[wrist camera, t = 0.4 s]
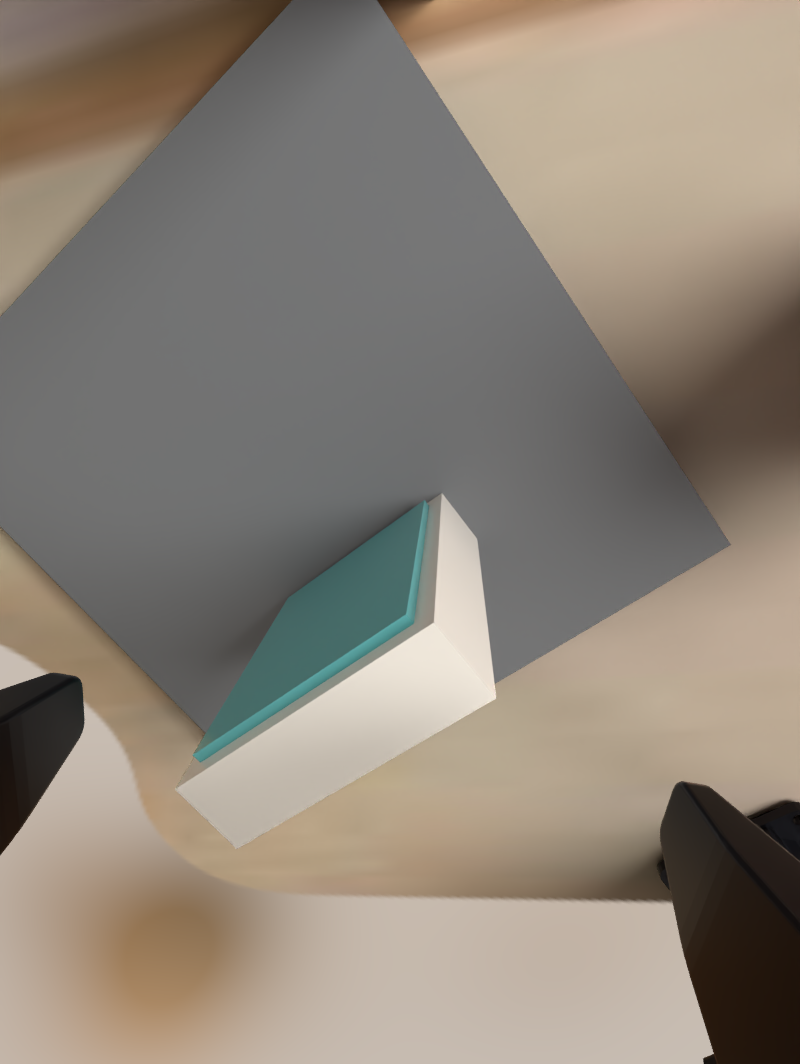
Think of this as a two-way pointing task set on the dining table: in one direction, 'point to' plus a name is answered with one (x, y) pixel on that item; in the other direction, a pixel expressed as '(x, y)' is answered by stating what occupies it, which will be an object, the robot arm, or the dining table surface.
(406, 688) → the tile
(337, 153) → the mat
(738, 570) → the dining table surface
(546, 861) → the dining table surface
